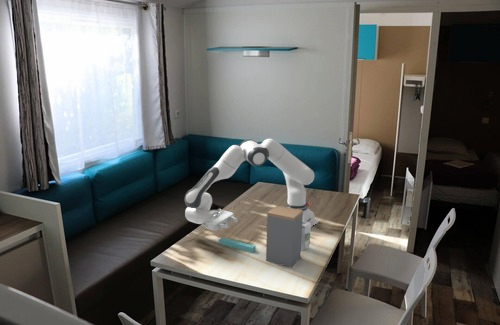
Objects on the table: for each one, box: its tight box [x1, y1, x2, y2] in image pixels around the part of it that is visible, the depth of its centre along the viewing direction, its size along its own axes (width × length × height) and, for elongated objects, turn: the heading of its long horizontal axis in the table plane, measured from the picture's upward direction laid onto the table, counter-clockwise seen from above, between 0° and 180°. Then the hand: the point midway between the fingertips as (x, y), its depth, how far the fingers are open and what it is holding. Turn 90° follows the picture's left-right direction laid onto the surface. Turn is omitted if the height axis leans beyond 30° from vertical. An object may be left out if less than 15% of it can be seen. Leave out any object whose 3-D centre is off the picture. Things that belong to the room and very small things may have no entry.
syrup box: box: [301, 221, 312, 252], centre depth 230 cm, size 6×6×14 cm
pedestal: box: [265, 205, 303, 268], centre depth 215 cm, size 14×12×26 cm
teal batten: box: [218, 237, 257, 254], centre depth 231 cm, size 21×3×3 cm, turn 61°
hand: (232, 223), depth 229 cm, fingers open, 8 cm apart
